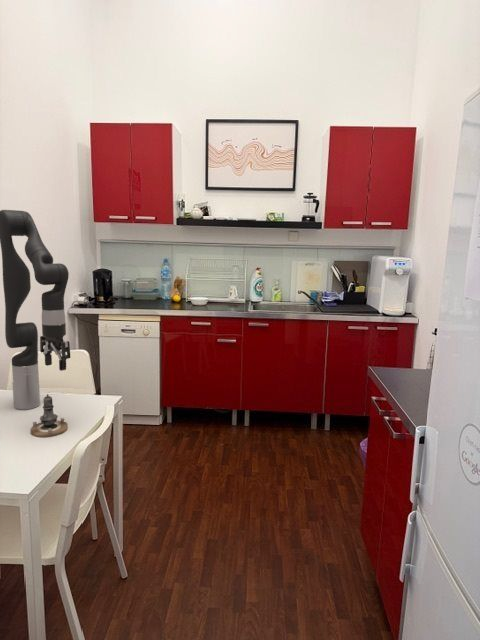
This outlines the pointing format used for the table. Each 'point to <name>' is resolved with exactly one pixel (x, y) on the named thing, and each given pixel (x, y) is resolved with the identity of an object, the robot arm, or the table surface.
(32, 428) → the pin holder
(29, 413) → the table surface
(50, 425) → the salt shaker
